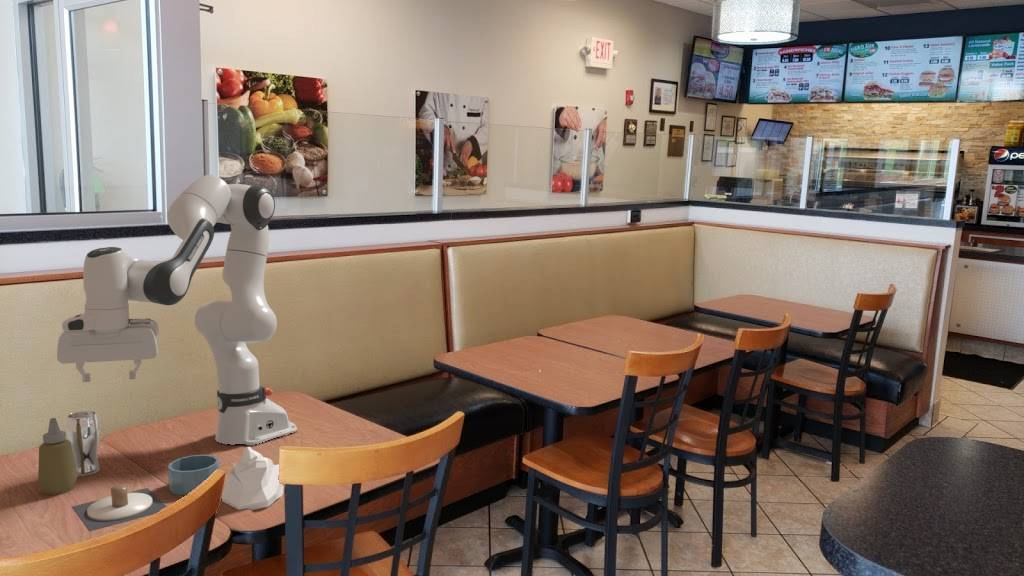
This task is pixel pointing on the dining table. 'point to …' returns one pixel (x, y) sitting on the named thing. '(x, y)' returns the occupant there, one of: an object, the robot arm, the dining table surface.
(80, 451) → the beer glass
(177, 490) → the bowl
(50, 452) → the squeeze bottle
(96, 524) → the mat
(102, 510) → the lid
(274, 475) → the white faceted lump
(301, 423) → the dining table surface
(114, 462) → the dining table surface
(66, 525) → the dining table surface
